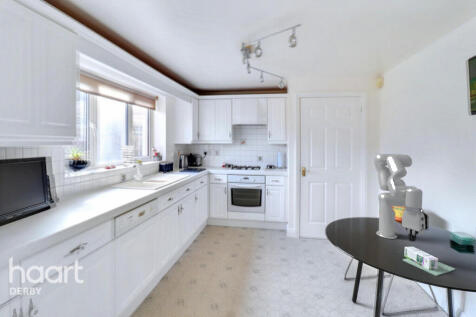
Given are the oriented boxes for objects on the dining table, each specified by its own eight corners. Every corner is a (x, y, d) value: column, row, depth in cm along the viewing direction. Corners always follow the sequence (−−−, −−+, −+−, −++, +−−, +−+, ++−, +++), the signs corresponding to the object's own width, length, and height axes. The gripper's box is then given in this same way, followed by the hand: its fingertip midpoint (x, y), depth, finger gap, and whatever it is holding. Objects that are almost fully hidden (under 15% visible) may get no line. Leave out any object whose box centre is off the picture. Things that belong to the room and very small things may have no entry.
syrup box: (404, 246, 127) (429, 259, 113) (413, 246, 128) (439, 258, 113) (403, 256, 127) (428, 270, 113) (412, 255, 128) (438, 269, 114)
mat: (420, 255, 129) (420, 254, 129) (455, 269, 114) (455, 268, 114) (402, 260, 124) (402, 259, 124) (436, 276, 109) (436, 274, 109)
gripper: (432, 212, 120) (431, 245, 120) (404, 205, 134) (403, 235, 134) (423, 214, 117) (422, 247, 118) (395, 207, 131) (394, 236, 132)
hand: (412, 240), depth 126 cm, fingers closed
